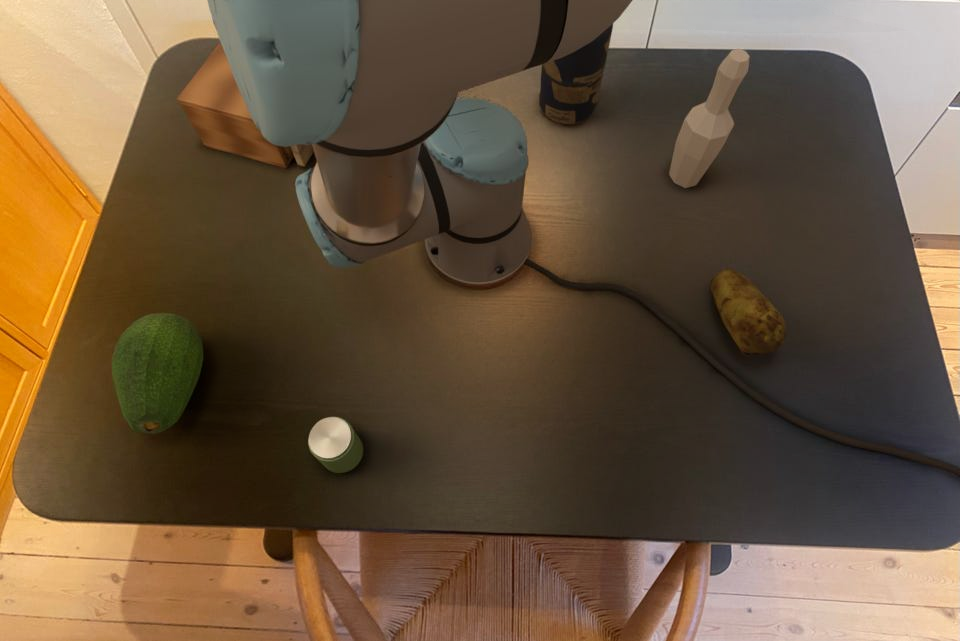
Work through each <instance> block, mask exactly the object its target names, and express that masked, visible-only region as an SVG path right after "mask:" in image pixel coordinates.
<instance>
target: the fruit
mask: <svg viewBox="0 0 960 641" xmlns="http://www.w3.org/2000/svg"><path fill="white" fill-rule="evenodd" d="M203 362H204V347H203V342H202V338H201V335H200V333H199V332H198V331H197V329H196V327H195V325H194V324H193V323H192V322H191V321H190V320H188V319H187V318H185V317H183V316H181V315H179V314H176V313H170V312H155V313H150V314H146V315H144V316H142V317H140V318H138V319H136V320H134V321H133V322H132V323H131V324H130V325H129V326H128V327H127V328H126V329H125V330H124V331H123V332H122V333H121V335H120V336H119V339H118V340H117V342H116V343H115V346H114V350H113V354H112V358H111V377H112V382H113V385H114V389H115V392H116V396H117V400H118V404H119V407H120V410H121V413H122V414H121V415H122V417H123V418H124V419H125V421H126V423H127V424H128V425H129V427H130V429H131V430H133V431H134V432H136V433H139V434H145V435H156V434H160V433H163V432H164V431H165V430H168V429H169V428H171V427H173V425H175V424H176V423H178V421H179V419H180V418H181V417H182V415H183V414H184V411H185V409H186V407H187V406H188V404H189V402H190V400H191V397H192V395H193V393H194V390H195V389H196V386H197V383H198V381H199V378H200V375H201V373H202V372H201V371H202V367H203Z"/></svg>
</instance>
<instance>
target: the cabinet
mask: <svg viewBox="0 0 960 641" xmlns="http://www.w3.org/2000/svg"><path fill="white" fill-rule="evenodd" d="M176 100H177V102H178V104H179V105H180V107H181V109H182V110H183V112H184V114H185V115H186V118H187V119H188V120H189V123H190V124H191V126H192V128H193V129H194V131H195V132H196V134H197V137H198V138H199V139H200V141H201V143H202V145H203V146H204V147H208V148H211V149H215V150H218V151H222V152H226V153H229V154H233V155H236V156H239V157H244V158H247V159H251V160H254V161H258V162H262V163H266V164H268V165H272V166H276V167H280V168H283V169H288V167H289V165H290V164H291V163H292V161H293V159H294V158H295V157H294V154H293V156H292V158H290V157H287V156H285V155H284V152H283V150H282V148H281V146H277V145H274V144H272V143H270V142H269V141H267V140H266V139H265V138H264V137H263V135H262V133H261V131H260V130H259V129H258V127H257V126H256V125H255V123H254V121H253V119H252V117H251V115H250V113H249V111H248V109H247V107H246V105H245V102H244V100H243V97H242V95H241V93H240V91H239V88H238V86H237V84H236V81H235V79H234V76H233V74H232V71H231V68H230V65H229V62H228V60H227V58H226V55H225V53H224V50H223V48H222V45H221V42H220V41H219V43H218V44H217V46H216V47H215V48H214V50H213V51H212V52H211V53H210V55H209V56H208V58H207V59H206V60H205V61H204V63H203V64H202V65H201V66H200V68H199V69H198V71H197V72H196V73H195V74H194V76H193V77H192V78H191V80H190V81H189V82H188V83H187V85H186V86H185V87H184V89H183V90H182V91H181V92H180V94H179V95H178V96H177V98H176Z"/></svg>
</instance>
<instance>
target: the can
mask: <svg viewBox="0 0 960 641" xmlns="http://www.w3.org/2000/svg"><path fill="white" fill-rule="evenodd" d="M307 445H308V449H309V451H310V453H311V454H312V455H313V457H315V459H316V460H317V461H319V463H321V465H322V466H324V467H325V469H327V470H328V471H329V472H332V473H336V474H343V473H348V472H351V471H352V470H353V469H355V468H357V466H358V465H359V464H360V462H361V461H362V459H363V455H364V444H363V442H362V440H361V438H360V436H359V435H358V434H357V432H356V430H355V429H354V428H353V426H352V424H351V423H350V422H349V421H348V420H347V419H345V418H344V417H343V418H342V417H339V416H328V417H324V418H322V419H320V420H319V421H317V422H316V423H315V424H314V425H313V427H312V428H311V430H310V432H309V435H308V438H307Z"/></svg>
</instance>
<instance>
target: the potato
mask: <svg viewBox="0 0 960 641" xmlns="http://www.w3.org/2000/svg"><path fill="white" fill-rule="evenodd" d="M710 282H711V283H710V291H711V294H712V296H713V297H714V298H713V302H714V305H715V307H716V308H717V311H718V314H719V317H720V319H721V321H722V323H723V324H724V326H725V329H726V330H727V331H728V333H729V334H730V336H731V338H732V339H733V342H734V343H735V344H736V345H737V347H738V350H739V352H740V353H741V354H742V355H744V356H745V357H746V356H750V355H764V354H773V353H774V352H776V351H778V350H779V349H780V348H781V347H782V346H783V345H784V342H785V340H786V335H787V328H786V322H785V320H784V317H783V316H782V314H781V313H780V312H779V311H778V309H777V308H776V307H775V306H774V304H773V302H771V301H770V300H769V298H767V297H766V296H765V295H764V294H763V293H762V292H761V291H760V290H759V288H758V287H757V286H756V285H755V284H754V283H753V282H752V281H751V280H750V279H749V278H748V277H746V276H745V275H744V274H742V273H741V272H740V271H737V270H735V269H732V268H726V269H723V270H722V269H721V270H720V271H718V272H716V273H715V275H714V276H713V277H712V278H711V280H710Z"/></svg>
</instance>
